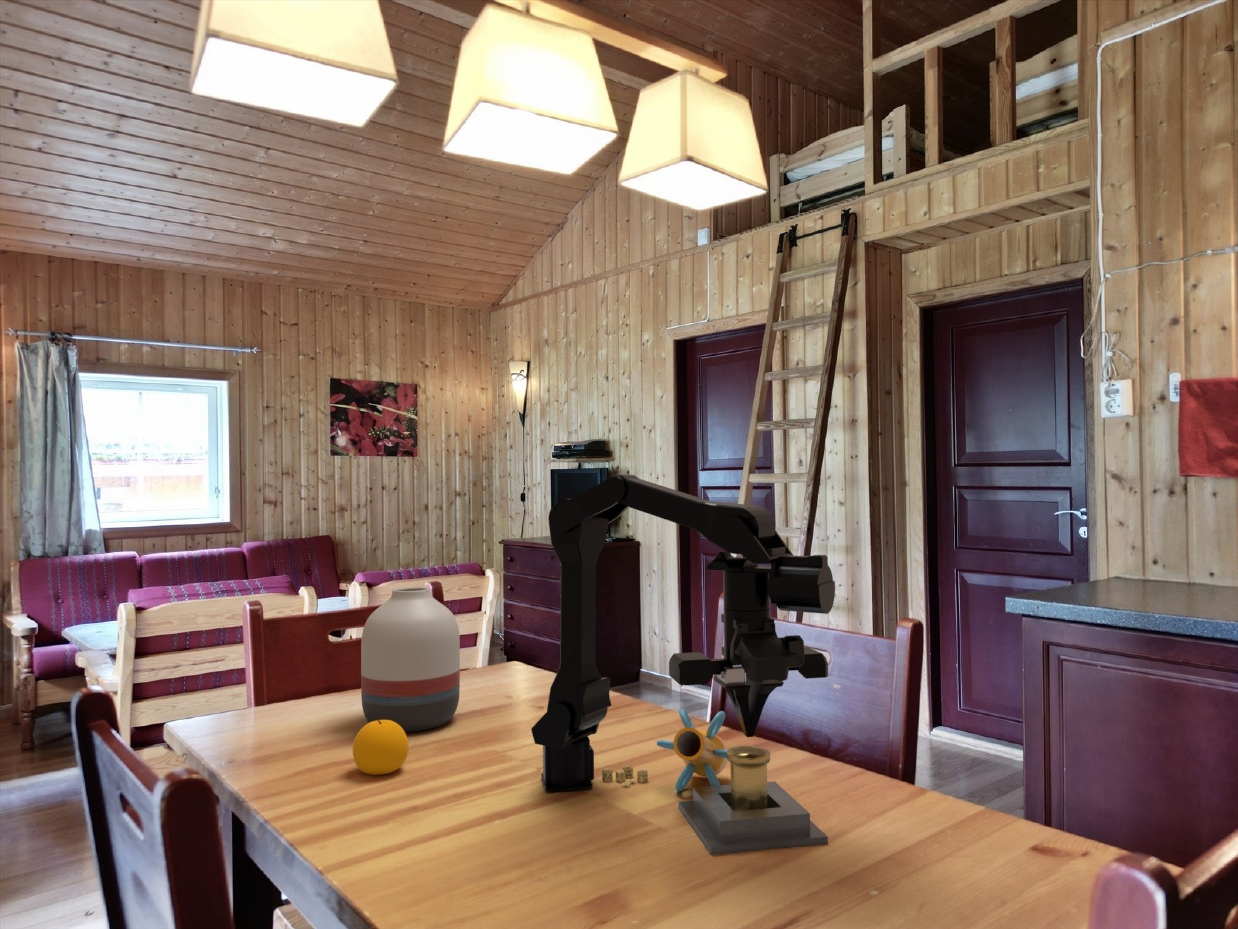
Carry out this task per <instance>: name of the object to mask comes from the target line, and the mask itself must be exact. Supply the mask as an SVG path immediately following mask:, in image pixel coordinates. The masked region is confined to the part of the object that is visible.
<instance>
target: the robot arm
mask: <svg viewBox="0 0 1238 929" xmlns="http://www.w3.org/2000/svg"><path fill="white" fill-rule="evenodd" d="M628 508H631V509H634V510H636V511H639V512H643V513H646V514H648V515H651V516H654V517H656V518H660V519H663V520H665V521H669V522H671V523H675V524H677V525H681V526H684V527H686V528H689V529H692V530H693V531H694V532H695V531H696V533H698V534H700V536H702V537H703V538H704V539H705V540H706V541H708V542H709V543H711V544H713V545H715V546H717V547H718V548H720V549H722V551H721V550H720V551H718V552H717V555H716V556H715V557H714V558H713V559H712V560H711V561H710V562H709V563H707V565H706V569H707V570H708V571H715V572H717V571H720V572H721V571H722V574H723V579H722V580H723V581H722V582H723V586H722V589H723V590H722V592H723V594H722V595H723V613H721V614H720V616H721V617H720V618H721V619H720V620H721V621H720V623H723V646H721V656H722V657H723V656H724V658H709V656H706V655H705V654H704V653H702V652H700V651H697V652H695V651H694V652H678V653H677V652H675V653H673V654H672V656H671V657H670V658H669V659H668V660H669V661H668V676H669V677H670V678H672V680H674V681H675V682H676V683H677V684H678V685H681V686H698V685H700V686H702V685H703V686H704V685H707V684H708V683H709V682H710V681H711V680H713V681H714V682H716V683H717V684H719V686H721V687H722V688H724V689H725V691H726V693H727V696H728V697H729V699H730V701H731V703H732V706H733V710H734V711H735V714H736V717H737V719H738V721H739V724H740V726H741V729H742V732H743V735H744V736H745V737H746V738H753V737H754V736H755V733H756V730H757V727H758V724H759V721H760V718H761V715H762V714H763V710H764V707H765V704H766V702H767V701H768V698H769V696H770V695H771V693H773V692H774V690H775V689H776V688H780V687H783V686H784V684H785V682H784V681H787V680H788V678H789V677H788V676H789V671H790V672H791V671H797V672H798V673H799V674H800V675H801V677H802V678H804V679H820V678H821V679H823V678H827V677H829V662H828V660H827V657H826V655H824V653H822V652H820V651H818V650H816V649H813V648H811V647H808V646H805V641H804V639H803V637H801V635H798V634H797V635H796V634H795V635H784V637H783V636H782V637H778V635H777V634H778V633H777V630H776V623H775V618H773V617H772V616H771V614H772V613H771V610H772V609H771V605H776V607H777V609H778V610H779V611H784V612H785V611H786V612H793V613H794V612H797V613H807V614H808V613H811V614H822V615H823V614H824V615H827V614H828V615H829V613H830V612H831V611H832V609H833V606H834V602H835V598H836V597H835V596H836V581H835V580H834V578H833V572H832V570H831V569H832V568H831V567H830V566H829V564H828V560H829V557H828V556H827V555H826V554H814V555H794V554H793V553H792V551H791V549H790V548H789V547H788V545H787V544H786V543H785V541H784V540H783V539H782V537H781V536H780V534H779V533H778V531H777V530H776V528H777V527H776V523H775V520H774V517H773V516H772V513H771V512H770V511H769V510H768V509H766V507H765V508H764V507H763V506H759V505H752V504H745V503H744V504H743V503H736V502H734V503H733V502H723V501H715V500H714V501H713V500H708V499H705V498H701V497H699V496H695V495H692V494H688V493H686V492H684V491H683V492H682V491H681V490H680V491H678V490H677V489H673V488H670V487H667V486H664V485H661V484H657V483H654V482H650V481H647V480H645V479H642V478H639V477H638V475H635V474H626V473H623V474H622V473H621V474H618V473H616V474H615V473H614V474H612V475H610V476H609V477H607V478H605V479H604V480H603V481H602V482H600V483H598V484H597V485H594V486H592V487H590V488H588V489H585V490H583V491H582V492H580V493H577V494H575V495H573V497H571V498H565V499H560V500H559V501H557V502H555V504H554V505H553V506H552V507H551V508H550V510H549V512H548V528H549V536H550V543H551V546H552V548H553V550H554V551H555V553H556V555H557V557H558V560H559V562H560V638H559V639H560V640H559V642H560V644H559V645H560V647H559V648H560V649H559V650H560V652H559V654H560V655H559V656H560V659H559V660H560V662H559V668H558V671H557V673H556V675H555V677H554V679H553V682H552V683H551V686H550V687H549V693H548V694H549V695H548V702H547V708H546V709H547V710H546V712H545V713H544V714H543V715H542V716H541V717H540V718H539V719H538V721H537V722H536V723H535V724H534V725H533V726H532V727H531V729H530V730H531V731H530V732H531V734H532V737H533V741H534V744H536V745H540V746H542V773H541V775H540V776H541V777H540V778H541V781H542V785H543V788H544V791H545V792H547V793H552V792H564V791H579V790H590V789H591V790H592V789H593V786H594V785H593V782H592V781H593V780H594V779H595V751H594V749H593V746H592V745H591V743H590V741H591V740H590V738H589V737H590V736H591V735H596V734H597V732H598V729H599V726H600V723H601V722H602V721H603V720H604V719H605V718H606V716H607V714H608V708H609V707H612V702H611V698H610V690H611V678H610V677H607V676H605V677H602V675H601V673H600V672H599V669H598V667H597V663H596V634H597V632H596V626H597V625H596V620H597V619H596V618H597V617H596V614H597V611H596V609H597V607H596V604H597V603H596V601H597V600H596V599H597V598H596V596H597V595H596V594H597V591H596V590H597V561H598V559H599V557H600V555H601V552H602V550H603V548H604V546H605V544H606V541H607V540H606V539H607V533H608V532H607V531H608V528H609V527H608V526H609V524H610V523H612V522H613V521H614V520H616V519H618V518H619V517H621V516H622V515H623V514H624V512H626V511H627V509H628ZM732 554H733V555H732ZM734 555H741V556H742V557H741V556H739V557H738V556H734ZM769 564H770V565H769ZM767 565H768V566H767Z"/></svg>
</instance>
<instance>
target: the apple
mask: <svg viewBox="0 0 1238 929" xmlns="http://www.w3.org/2000/svg"><path fill="white" fill-rule="evenodd" d="M409 748H410V745H409V740H408V736H407V734H406V732H404V730H403V729H402V727H401V726H400V725H398V724H397V723H395V722H393V721H391V720H377V721H372V722H370V723H369V722H368V723H366V724H365V725H363V726H362V727H361V729H360V730H359V731H358V732H357V734H356V736H355V738H354V740H353V744H352V756H353V760H354V761H353V762H354V763H355V765H356V767H357V769H359V770H360V771H361V772H362V773H365V774H367V775H371V776H382V775H388V774H390V773H393V772H395V771H397V770H399V769H400V768H401V766H403V764H404V763H405V762H406V760H407V757H408V754H409V750H410V749H409Z"/></svg>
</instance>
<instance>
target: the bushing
mask: <svg viewBox="0 0 1238 929" xmlns="http://www.w3.org/2000/svg"><path fill="white" fill-rule="evenodd" d="M727 759H728V761H727V762H730V785H731V809H732V810H733V811H743V810H755V809H767V782H768V764H769V763H770V762H771V751H769V750H768V749H767V748H764V747H760V746H756V745H748V744H747V745H736V746H731V747H730V748H727Z"/></svg>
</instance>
